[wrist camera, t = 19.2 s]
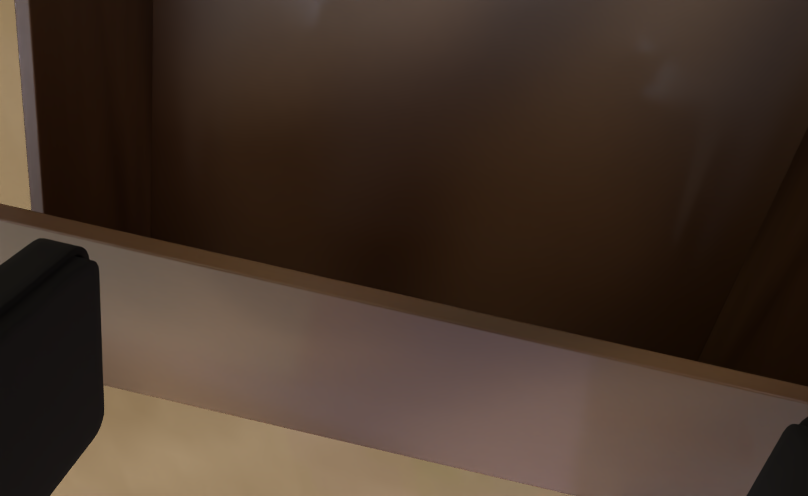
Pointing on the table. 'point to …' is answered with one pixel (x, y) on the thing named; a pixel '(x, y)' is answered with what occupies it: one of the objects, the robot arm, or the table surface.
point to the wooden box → (454, 152)
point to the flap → (418, 372)
